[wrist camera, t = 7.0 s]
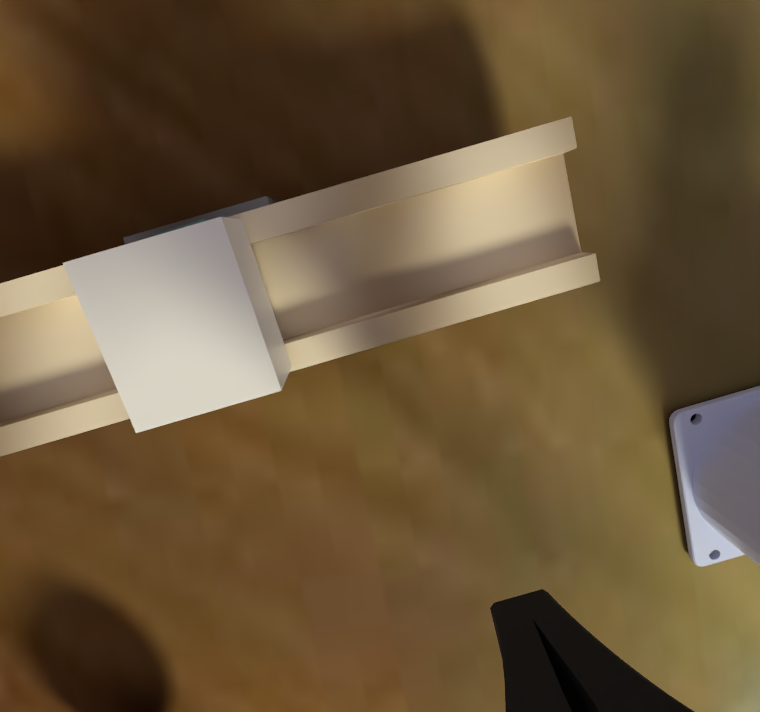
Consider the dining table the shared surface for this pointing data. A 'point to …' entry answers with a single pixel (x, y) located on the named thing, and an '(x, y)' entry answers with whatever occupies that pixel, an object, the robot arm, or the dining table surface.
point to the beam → (331, 273)
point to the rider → (182, 321)
